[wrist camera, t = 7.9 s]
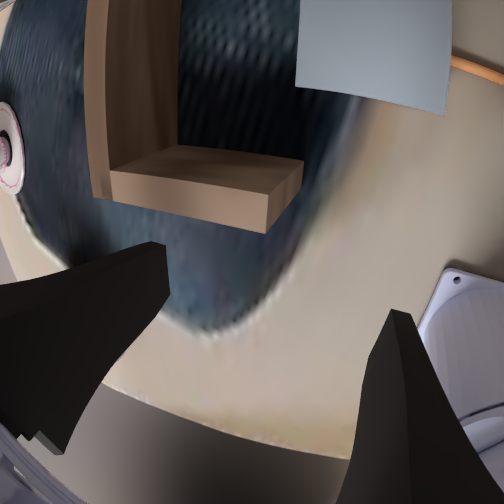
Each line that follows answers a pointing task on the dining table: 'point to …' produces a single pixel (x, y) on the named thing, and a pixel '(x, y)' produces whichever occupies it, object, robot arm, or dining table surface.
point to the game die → (5, 3)
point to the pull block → (381, 50)
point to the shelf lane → (165, 127)
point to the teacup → (12, 176)
